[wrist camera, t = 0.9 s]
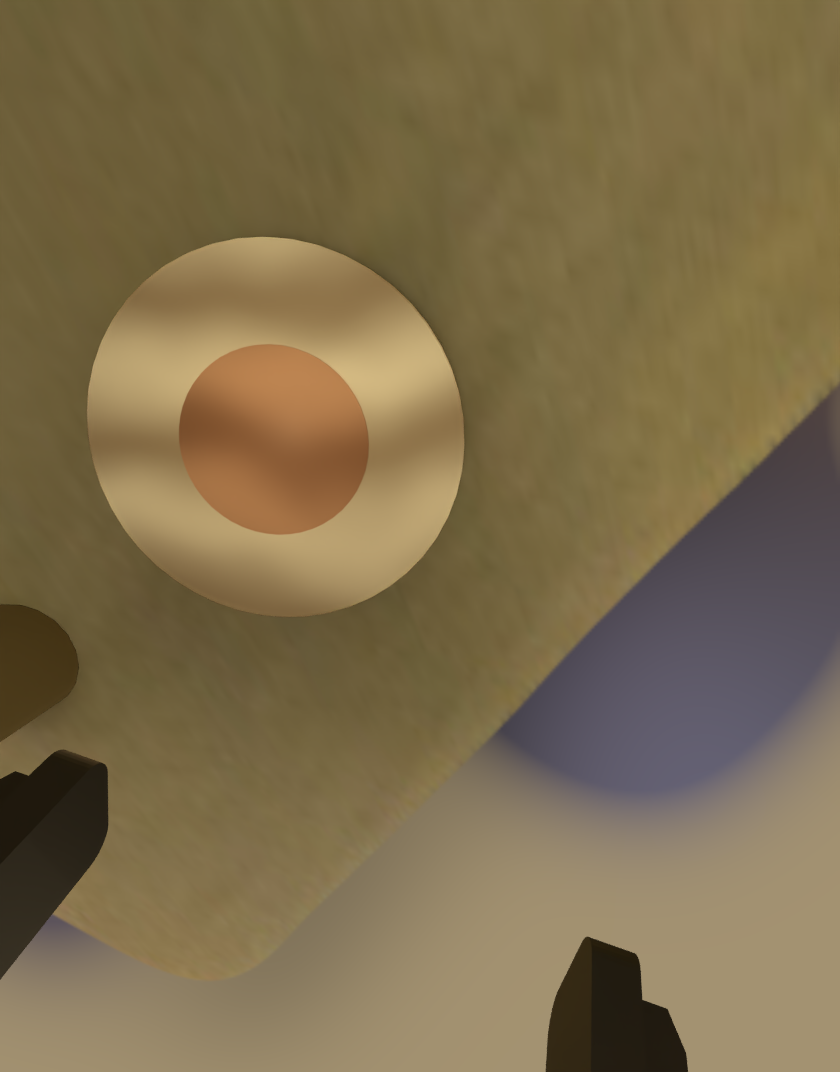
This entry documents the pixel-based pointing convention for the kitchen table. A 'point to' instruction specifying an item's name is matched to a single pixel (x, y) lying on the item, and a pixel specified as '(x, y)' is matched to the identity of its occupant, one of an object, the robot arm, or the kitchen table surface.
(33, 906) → the robot arm
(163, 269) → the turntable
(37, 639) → the brown pepper shaker
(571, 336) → the kitchen table surface
